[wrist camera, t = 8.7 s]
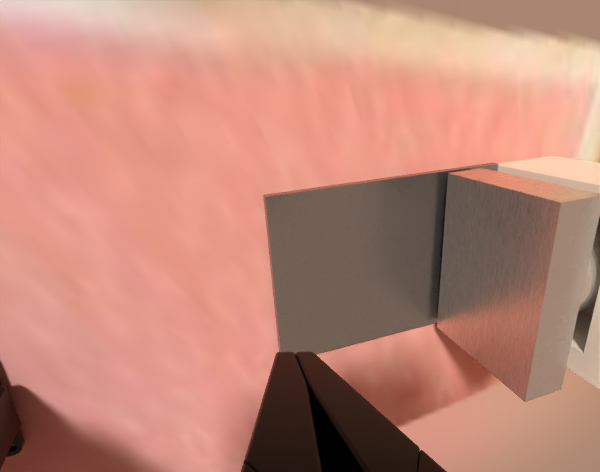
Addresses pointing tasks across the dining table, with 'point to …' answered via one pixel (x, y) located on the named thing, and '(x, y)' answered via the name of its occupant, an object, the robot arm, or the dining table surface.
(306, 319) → the plate
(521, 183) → the grey piece
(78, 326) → the dining table surface
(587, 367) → the socket
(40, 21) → the dining table surface
